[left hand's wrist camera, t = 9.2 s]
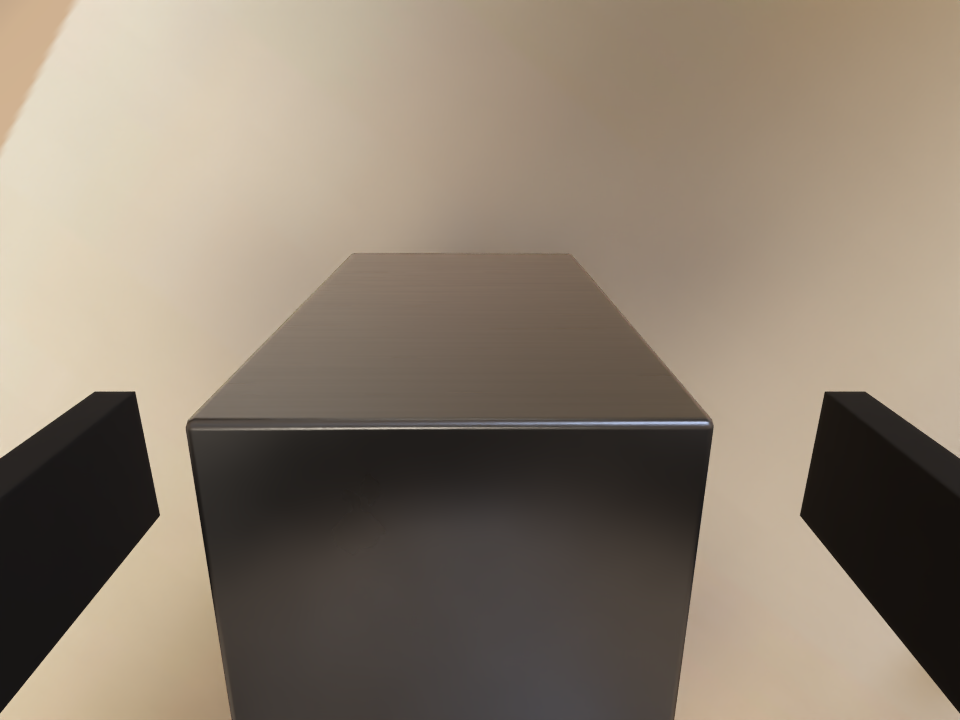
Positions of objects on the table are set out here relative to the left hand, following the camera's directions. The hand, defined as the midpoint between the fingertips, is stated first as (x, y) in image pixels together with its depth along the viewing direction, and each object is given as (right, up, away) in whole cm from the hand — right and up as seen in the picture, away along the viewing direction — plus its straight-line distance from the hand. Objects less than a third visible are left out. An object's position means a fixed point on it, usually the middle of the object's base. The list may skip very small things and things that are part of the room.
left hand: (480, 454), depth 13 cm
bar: (0, -7, +5) cm, 8 cm away
